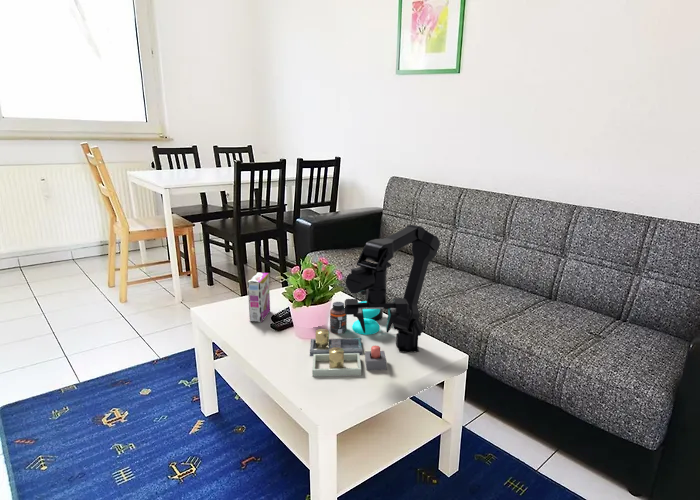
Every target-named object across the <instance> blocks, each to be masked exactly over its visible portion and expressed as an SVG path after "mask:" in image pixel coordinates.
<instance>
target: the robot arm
mask: <svg viewBox="0 0 700 500" xmlns="http://www.w3.org/2000/svg"><path fill="white" fill-rule="evenodd" d="M409 244H411V254H412V257H413V260H412V261H413V262H412V265H411V269H410V272H409V276H408V280H407V282H406V287H405V291H404V294H403V296H402V297H395V298H394V297H393V300H392V301H387V273H388V272H387V271H388V268H390V267H392V263H390V262H389V261H390V260H392V258H394V255H395V253H396V252H397V251H399V250H400V249H402V248H404V247H406V246H407V245H409ZM440 246H441V243H440V240H439V237H438V236H437V235H434V234H433V233H431V232H430V231H427V230H426V229H425V227H422V226H420V225H416V224H408V225H406V226H405V228H402V229H401V230H399V231H397V232H395V233H393V234H391V235H389V236H387V237H384V238H374V239H371V240H368V241H367V242H366V243H365V245H364V247H363V249H362V251H361V253H360V256H359V257H358V260H357V262H356V266H358V267H354V268H352V269H350V273H349V274H348V275H347V276H346V278H345V285H346V288H347V290H348V291H349V292H351V293H352V294H358V293H360V295H361V296H365V301H367V303H358V302H359V300H358V298H346V299H345V300H344V308H345V314H347V316H348V315H349V316H351V315H352V316H353V317H354V318H357V320H359V322H360V324H361V327H362V329H363V332H364V333H365V324H364V319H365V318H364V317H363V309H383V310H387V317H386V318H387V321H386V329H385V330H386V333H389V332H390V329H391V327H393V329H394V330H397V333H395V334H396V336H395V345H396V348H397V350H398V352H399V353H417V352H420V351H419V337H420V336H421V335H422V334H423V332H424V328H425V326H424V324H423V323H421V321H420V314H421V313H420V309H419V306H418V304H419V300H420V296H421V292H422V289H423V286H424V285H423V284H424V281H425V278H426V275H427V270H428V267H429V263H430V262H431V261H433V259H434V258H435V257H437V252H438V251H439V248H440Z"/></svg>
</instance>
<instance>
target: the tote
mask: <svg viewBox="0 0 700 500" xmlns="http://www.w3.org/2000/svg"><path fill="white" fill-rule="evenodd" d="M360 356H361V355H359V353H344V361H357V362H356V363H357V367H349V368H348V367H344V368H335V369H330V368H316V363H317V362H326V361H327V362H329V354H313V356H312V367H311V368H312V369H311V373H312V374H311V375H312V376H311V377H337V376H338V377H343V376H345V377H346V376H362V364H361V358H360Z"/></svg>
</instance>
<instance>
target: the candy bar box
mask: <svg viewBox="0 0 700 500" xmlns="http://www.w3.org/2000/svg"><path fill="white" fill-rule="evenodd" d="M247 290H248V291H247V292H248V295H247V297H248V310H249V311H248V313H249V314H248V315H249V316H248V317H249V322H250V321H252V322H251V323H258V322H261V323H262V322H263V321H264V320H265V318H266V317H267V316H268V315H269V313H271V301H270V300H271V298H270V296H271V295H270V272H258V271H257V272H256V274H254V275H253V276H252V277H251V278H250V279H249V280H248V281H247ZM263 319H264V320H263Z"/></svg>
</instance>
